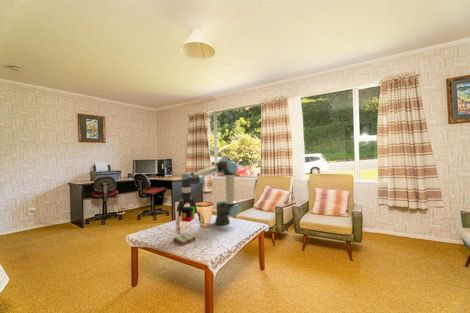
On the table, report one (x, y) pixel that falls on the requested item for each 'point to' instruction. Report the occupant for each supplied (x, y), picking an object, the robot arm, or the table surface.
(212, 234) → the table surface
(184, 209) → the puzzle toy
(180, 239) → the plinth
